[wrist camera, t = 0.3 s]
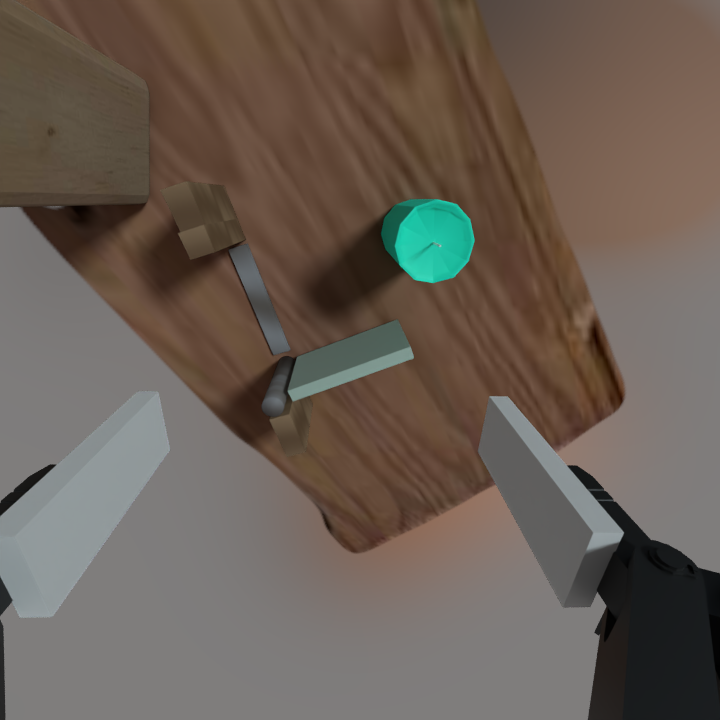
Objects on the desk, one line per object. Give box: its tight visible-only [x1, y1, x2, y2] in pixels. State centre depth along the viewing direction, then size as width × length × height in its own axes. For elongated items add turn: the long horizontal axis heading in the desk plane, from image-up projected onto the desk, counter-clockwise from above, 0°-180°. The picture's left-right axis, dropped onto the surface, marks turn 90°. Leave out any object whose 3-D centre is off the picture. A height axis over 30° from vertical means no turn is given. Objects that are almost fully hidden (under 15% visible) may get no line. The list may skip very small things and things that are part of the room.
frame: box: [161, 181, 313, 457], centre depth 35 cm, size 25×2×10 cm, turn 16°
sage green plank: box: [288, 319, 414, 401], centre depth 37 cm, size 12×1×8 cm, turn 111°
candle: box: [381, 199, 475, 283], centre depth 31 cm, size 6×6×12 cm
